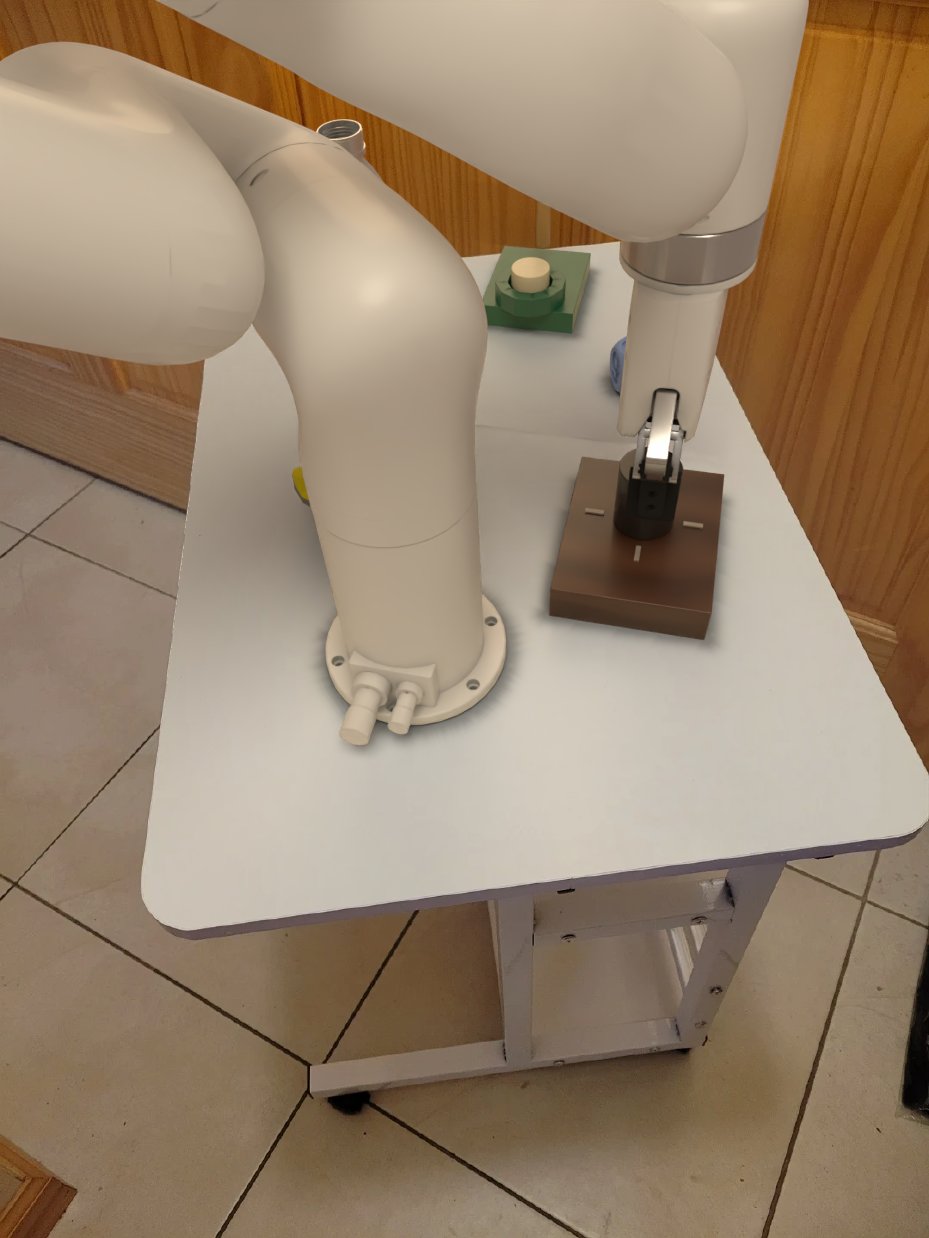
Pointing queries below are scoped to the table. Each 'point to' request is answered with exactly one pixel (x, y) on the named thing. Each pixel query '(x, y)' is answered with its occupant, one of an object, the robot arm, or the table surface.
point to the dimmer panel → (638, 558)
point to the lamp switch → (530, 275)
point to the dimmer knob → (623, 522)
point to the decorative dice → (617, 363)
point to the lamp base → (541, 308)
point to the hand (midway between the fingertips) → (657, 466)
